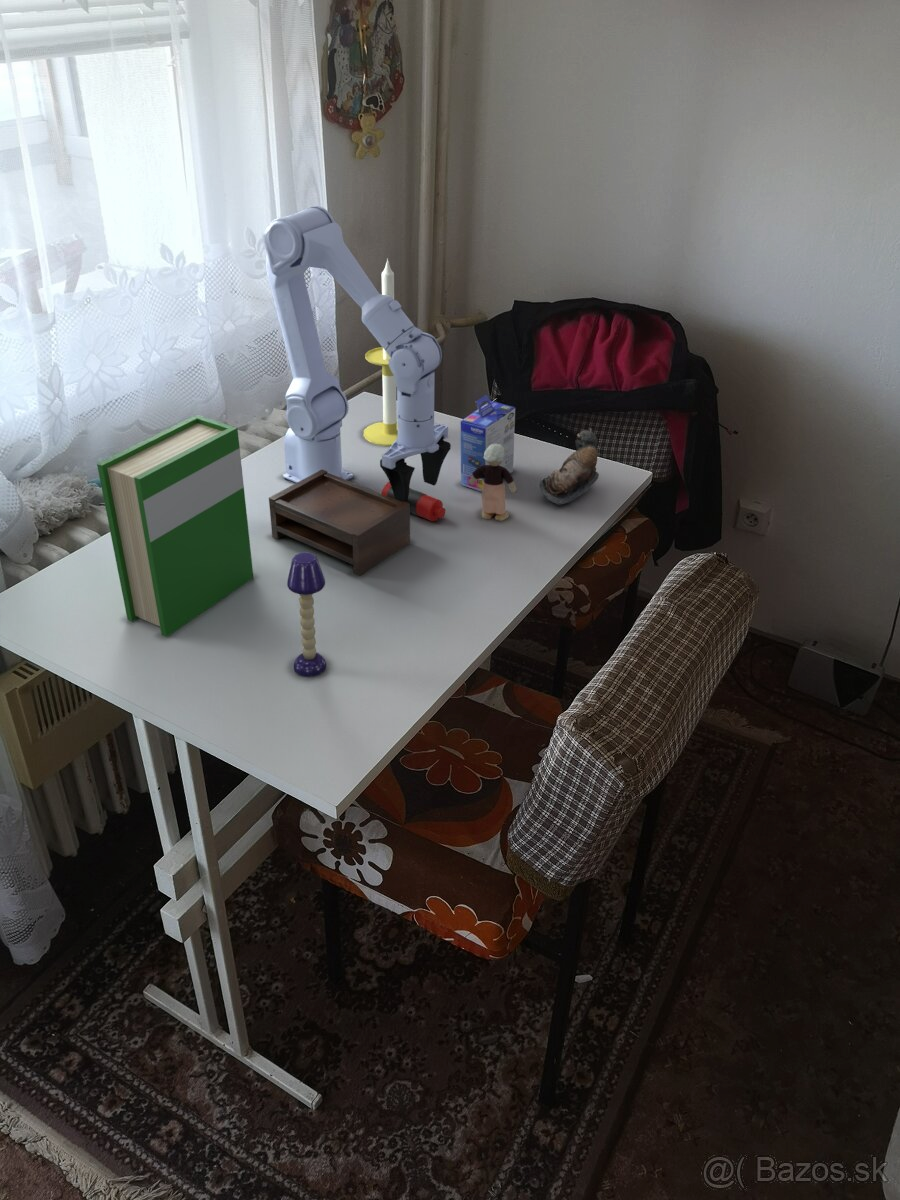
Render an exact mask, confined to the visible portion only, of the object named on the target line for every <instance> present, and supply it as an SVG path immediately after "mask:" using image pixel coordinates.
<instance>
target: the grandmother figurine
mask: <svg viewBox="0 0 900 1200" xmlns="http://www.w3.org/2000/svg"><path fill="white" fill-rule="evenodd" d="M504 453H505V452H504V447H502V445H500V444H496V443H495V444H492V445H490V446H489V447H488V448H487V449H486V450H485V452H484V457H483V458H484V459H485V460H486V461H487V462H488V463H489V464H490V465H483V466H480V467H479V468H477V469H476V470H475V471H474V472H473V473H472V474H473V475H472V477H471V479H470V480H469V483H470V484H472V485H473V484H475V482H476V480H477V479H481V478H485V479H484V482H483V489H482V492H481V508H482V509H481V518H482V519H484V520H489V519H492V517H493V516H494V514H496V515H495V516H494V519H495V521H498V522H502V521H505V520H506V519H508V518H509V517H510V514H509V512H508V511H507V510H506V486H505V485H506V484H507V486H508V488H509V491H510V492H511V493H513V494H514V493H516V492H517V487H516V484H515V479H514V477H513V476H512V474H511V473H509V471H508V470H507V469H506V468H504V467H502V466H500V464H501V463H502V461H503V458H504ZM504 481H505V482H504ZM505 483H506V484H505Z"/></svg>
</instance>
